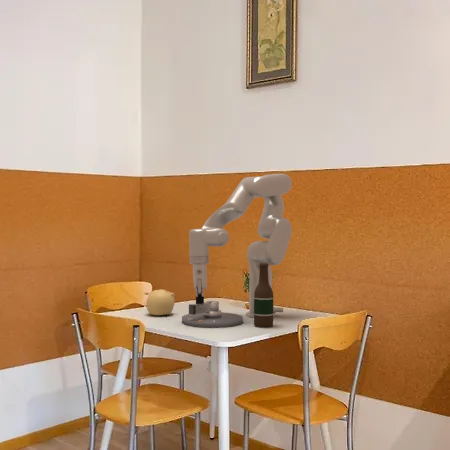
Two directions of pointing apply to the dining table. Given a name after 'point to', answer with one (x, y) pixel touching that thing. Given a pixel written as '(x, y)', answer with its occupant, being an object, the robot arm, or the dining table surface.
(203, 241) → the robot arm
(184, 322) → the dial plate
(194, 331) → the dining table surface
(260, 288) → the beer bottle
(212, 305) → the dial
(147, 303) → the sculpture
